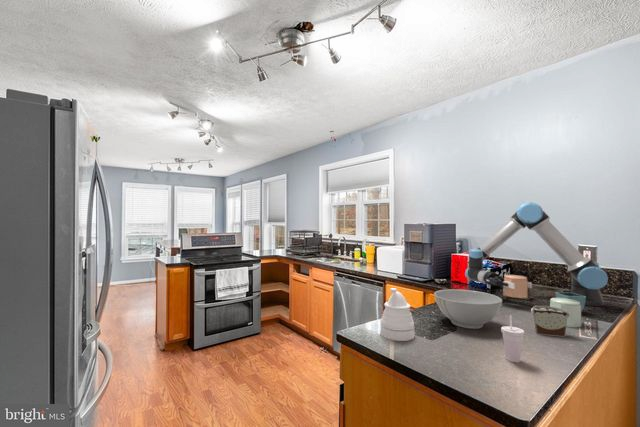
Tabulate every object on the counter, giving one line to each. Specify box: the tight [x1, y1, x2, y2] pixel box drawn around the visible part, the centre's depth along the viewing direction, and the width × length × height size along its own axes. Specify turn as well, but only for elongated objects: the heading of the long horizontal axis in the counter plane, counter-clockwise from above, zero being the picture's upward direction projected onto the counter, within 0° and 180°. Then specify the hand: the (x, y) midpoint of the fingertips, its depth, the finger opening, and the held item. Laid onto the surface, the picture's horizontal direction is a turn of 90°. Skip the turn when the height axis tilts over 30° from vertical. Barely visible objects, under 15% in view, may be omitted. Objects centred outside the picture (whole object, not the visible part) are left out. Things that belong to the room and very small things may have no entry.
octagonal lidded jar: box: [503, 274, 528, 299], centre depth 159 cm, size 10×10×10 cm
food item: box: [502, 286, 531, 301], centre depth 179 cm, size 14×8×10 cm, turn 48°
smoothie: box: [500, 315, 525, 363], centre depth 97 cm, size 6×6×14 cm
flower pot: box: [555, 291, 586, 313], centre depth 150 cm, size 9×9×9 cm
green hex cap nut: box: [549, 297, 582, 328], centre depth 133 cm, size 10×10×10 cm
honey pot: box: [380, 287, 415, 342], centre depth 119 cm, size 13×13×18 cm
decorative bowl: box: [433, 288, 503, 330], centre depth 132 cm, size 27×27×12 cm
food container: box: [531, 305, 569, 338], centre depth 121 cm, size 12×6×10 cm, turn 71°
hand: (522, 285), depth 155 cm, fingers closed on octagonal lidded jar, 10 cm apart
